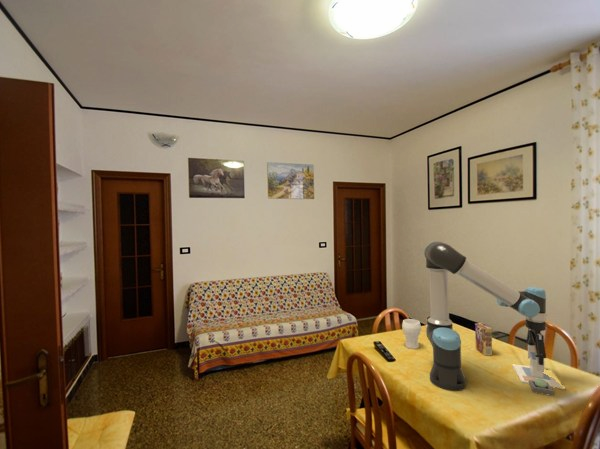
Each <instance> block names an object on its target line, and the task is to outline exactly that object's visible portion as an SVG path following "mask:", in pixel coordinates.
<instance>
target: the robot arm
mask: <svg viewBox="0 0 600 449" xmlns="http://www.w3.org/2000/svg"><path fill="white" fill-rule="evenodd" d="M423 254H424V257H425V268H426V269H427V270H428V271H429V300H430V301H429V304H430V308H429V309H430V312H429V314H430V317H429V318H427V319H426V320H427V321H426V322H427V326H426V330H425V333H426V337H427V339H428V340H429V342H430V345H431V347H432V354H433V355H432V356H433V357H432V358H433V364H432V367H431V368H430V372H429V379H430V380H429V381H430V382H431V383H432V385H434V386H436V387H438V388H441V389H443V390H447V391H462V390H464V389H465V388H466V387H467V380H466V377H465V374H464V371H463V369H462V348H461V346H462V340H461V336H460V334H459V333H458V332H457V331H456V330H454V329H453V321H452V320H451V319H450V310H449V309H450V308H449V304H450V303H449V272H450V273H451V274H453V275H458V276H460V277H462V278H463V279H466V281H468V282H470V283H471V284H473V285H474V286H476V287H478V288H480V289H481V290H482V291H484V292H486V293H488V294H489V295H491V296H492V297H494V298H495V299H496V301H497V305H499V306H501V307H505V308H507V307H508V308H510V309H513V310H515V311H516V312H518V313H519V314H520V315H522V316H525V327H526V328H527V335H526V339H525V341H526V343H527V359H529V360H530V352H536V353H537V355H536V356H535V357H536V370H537V371H541V372H544V369H545V359H547V355H546V354H547V353H546V346H545V340H544V339H545V338H544V337H545V336H544V334H542V333H541V332H544V331H546V329H547V326H546V324H547V322H546V318H547V317H548V314H546V310H547V308H546V303H547V302H546V301H547V297H546V296H547V295H546V289H544V288H542V287H538V286H527V287H525V290H524V291H523V290H522V291H519V290H516V289H514V288H512V286H509V285H507V284H506V283H505V282H503V281H501V280H500V279H498V278H496V276H493V275H491V274H490V273H489V272H487V271H485V270H484V269H482V268H480V267H478V266H477V265H476V264H474V263H472V262H471V261H469V260H468V258H467V257H466V256H465V255H464V254H462V253H460V252H459V251H457V250H456V249H455V248H454V247H453V246H451V245H449V244H447V243H445V242H442V241H432V242H430V243H428V244H427V245H426V247H425V248H424V253H423Z"/></svg>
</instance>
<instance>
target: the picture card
mask: <svg viewBox="0 0 600 449" xmlns="http://www.w3.org/2000/svg"><path fill="white" fill-rule="evenodd" d="M512 365H513V366H512V367H513V369H514V371H515V373H516V374H517V377H518V376H519V377H518V378H520V379H519V380H520V382H521V383H522V382H524V383H523V384H528V383H529V380H533V381H535V379H542V380H544V381H546V383H548V384H549V385H550V387H551V388H552V387H557V388H556V389H558V388H563V386H561V385H560V384H559V383H558V382H556V380H555V379H554V378H552V377H549V376H548V375H546V374H544V373H543V378H541V377H535V376H532V374H531V372H530V365H522V364H513V363H512Z"/></svg>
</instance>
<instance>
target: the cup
mask: <svg viewBox="0 0 600 449" xmlns="http://www.w3.org/2000/svg"><path fill="white" fill-rule="evenodd" d="M401 327H402V331H403V334H404V335H405V343H404V344H405V347H406V348H407V349H410V350H411V349H412V350H417V349H419V348H420V347H419V346H420V345H419V336H420V334H421V331H422V325H421V323H420V321H419V320H417V319H414V318H412V319H411V318H406V319H403V320H402V323H401Z"/></svg>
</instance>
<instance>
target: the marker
mask: <svg viewBox="0 0 600 449" xmlns="http://www.w3.org/2000/svg"><path fill="white" fill-rule="evenodd" d="M536 355H537V352H536V351H535V352H530V359H529V363H530V364H529V366H530V372H531V374H532V376H535V377H541V378H543V372H541V371H537V370H536V357H535V356H536Z"/></svg>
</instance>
